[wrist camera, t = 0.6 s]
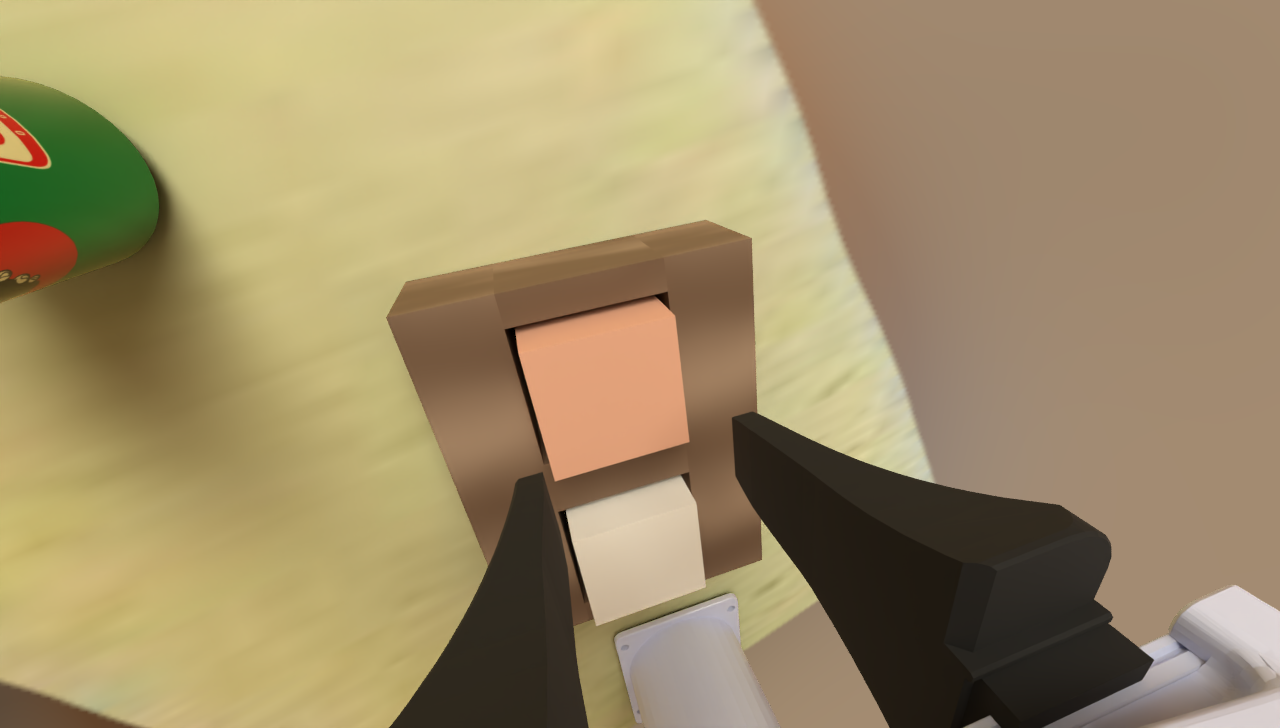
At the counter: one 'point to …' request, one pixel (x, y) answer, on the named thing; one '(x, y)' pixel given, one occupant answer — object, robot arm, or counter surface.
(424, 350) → the key console
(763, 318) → the counter surface
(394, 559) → the counter surface
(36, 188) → the soda can
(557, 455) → the terracotta key
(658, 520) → the offwhite key
